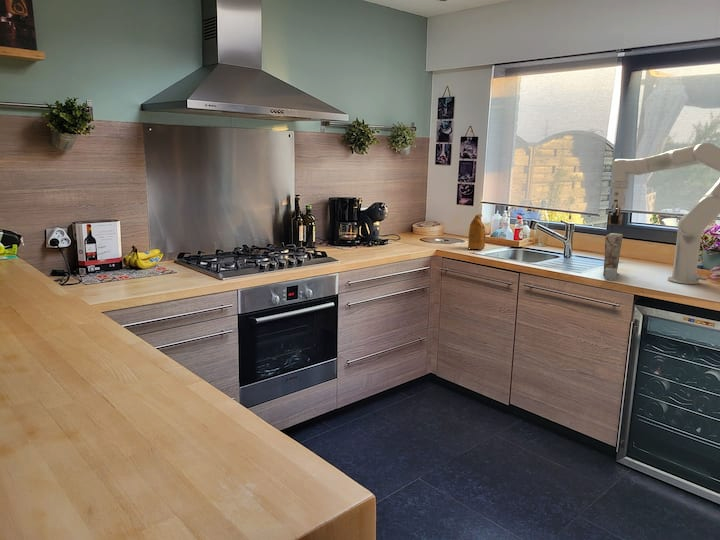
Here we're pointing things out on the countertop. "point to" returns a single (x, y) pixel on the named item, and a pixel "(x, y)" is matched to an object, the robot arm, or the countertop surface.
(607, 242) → the stone block
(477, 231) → the coffee package
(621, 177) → the robot arm
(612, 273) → the slate grey cube
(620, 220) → the walnut cube
